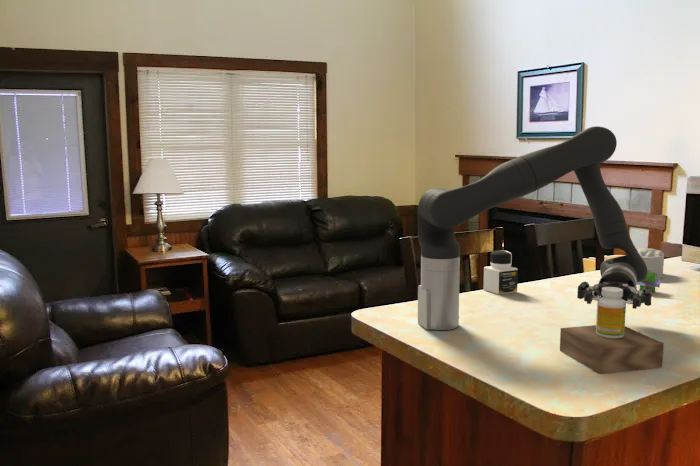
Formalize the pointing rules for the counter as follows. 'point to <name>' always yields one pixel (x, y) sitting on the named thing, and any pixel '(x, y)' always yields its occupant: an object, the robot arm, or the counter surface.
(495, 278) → the medicine bottle
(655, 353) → the walnut block
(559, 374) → the counter surface
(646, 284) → the geometric puzzle
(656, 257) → the lumpy-topped squat cylinder
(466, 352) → the counter surface
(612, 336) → the supplement bottle
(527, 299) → the counter surface
